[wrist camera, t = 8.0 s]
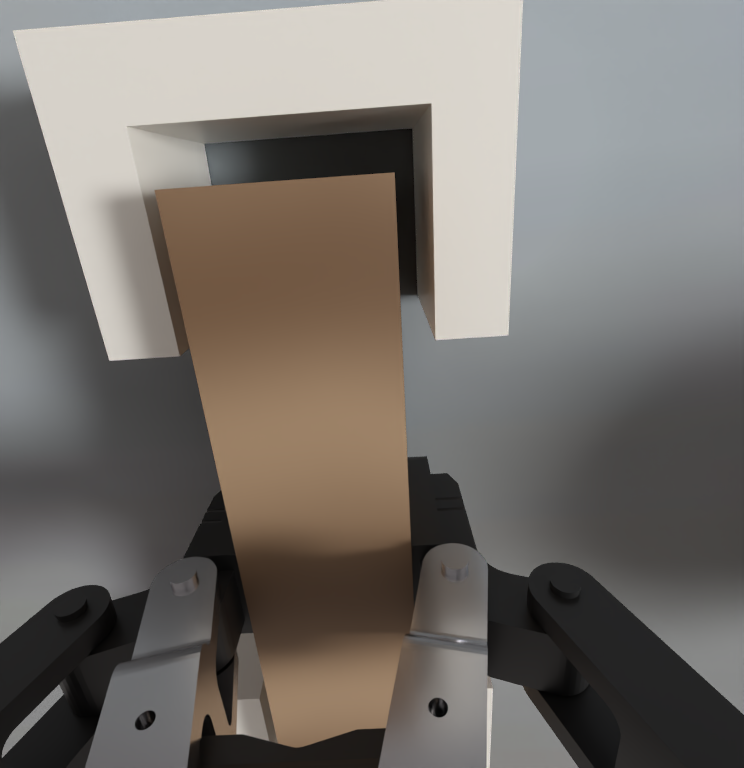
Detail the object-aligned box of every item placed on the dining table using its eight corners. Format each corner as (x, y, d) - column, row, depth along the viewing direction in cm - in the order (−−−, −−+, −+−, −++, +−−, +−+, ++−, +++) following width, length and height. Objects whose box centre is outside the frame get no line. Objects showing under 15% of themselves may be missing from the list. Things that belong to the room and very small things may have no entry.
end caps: (131, 80, 11) (12, 31, 7) (472, 54, 11) (523, -12, 7) (267, 692, 19) (242, 814, 15) (465, 683, 19) (487, 804, 15)
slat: (229, 187, 11) (155, 189, 7) (387, 175, 11) (394, 172, 7) (311, 680, 17) (295, 819, 13) (412, 675, 17) (423, 815, 13)
